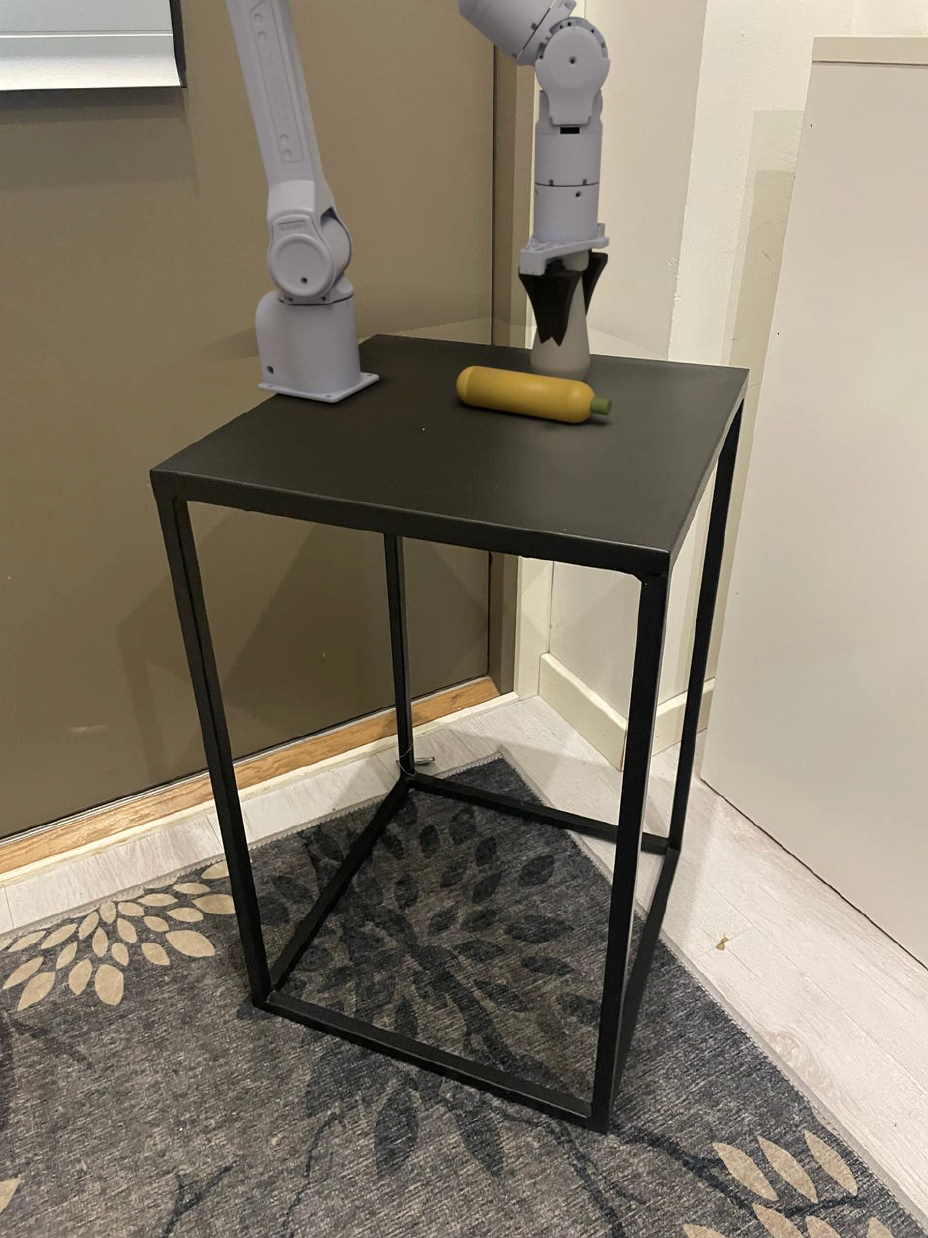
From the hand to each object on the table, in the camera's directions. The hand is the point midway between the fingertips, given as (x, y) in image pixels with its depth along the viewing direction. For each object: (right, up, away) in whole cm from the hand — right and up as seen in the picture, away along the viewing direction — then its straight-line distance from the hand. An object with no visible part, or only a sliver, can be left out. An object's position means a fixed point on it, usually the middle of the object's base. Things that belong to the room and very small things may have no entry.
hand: (561, 338), depth 88 cm
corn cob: (-4, -8, -3) cm, 9 cm away
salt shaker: (0, -4, +2) cm, 5 cm away
